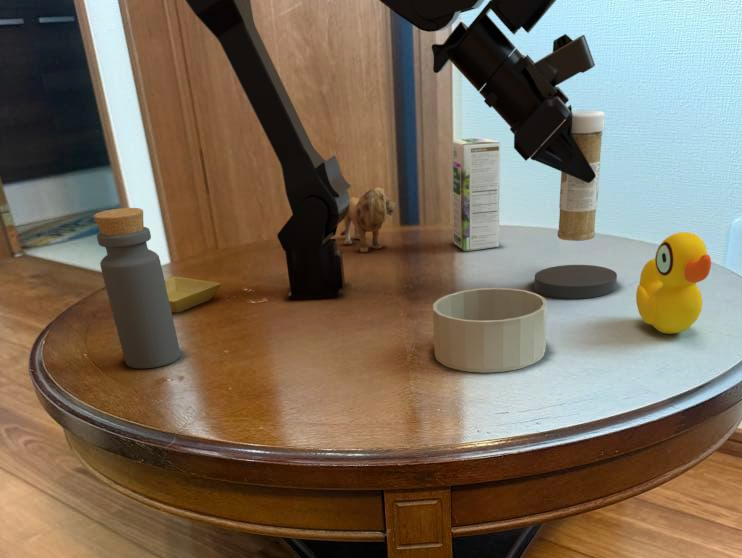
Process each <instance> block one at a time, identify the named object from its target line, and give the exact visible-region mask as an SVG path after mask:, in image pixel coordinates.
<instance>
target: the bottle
mask: <svg viewBox="0 0 742 558" xmlns="http://www.w3.org/2000/svg"><path fill="white" fill-rule="evenodd" d="M93 219H94V221H95V223H96V225H97V228H98V229H99V233H97V234H96V240H97V242H98V245H99V246H100V247H102V248H105V250H106V255H105V256H104V257H102V259H101V260H100V263H99V264H100V265H99V266H100V270H101V274H102V279H103V282H104V286H105V289H106V293H107V297H108V300H109V305H110V309H111V312H112V316H113V320H114V325H115V327H116V333H117V336H118V340H119V344H120V347H121V350H122V354H123V358H124V361H125V364H126V366H128V367H130V368H133V369H154V368H159V367H164V366H167V365H169V364H172V363H174V362H176V361H178V359H179V358H181V350H180V344H179V340H178V336H177V335H178V334H177V329H176V327H175V321H174V317H173V312H171V307H170V303H169V298H168V294H167V289H166V285H165V280H166V279H165V276H164V272H163V267H162V263H161V259H160V256H159V254H158V253H156V252H155V251H154V250H151V249H149V248H148V244H147V242H149V241H150V240H151V239H152V235H151V230H150V229H149V227H146V226H144V209H142V208H138V207H122V208H113V209H108V210H103V211H99V212H96V213H95V214H93Z"/></svg>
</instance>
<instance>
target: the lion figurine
mask: <svg viewBox="0 0 742 558" xmlns="http://www.w3.org/2000/svg"><path fill="white" fill-rule="evenodd" d="M349 198H350V205H349V210H348V213H347V215H346V216H345V218H344V219H343V221H344V222H343V223H344V228H345V229H344V230H343V231H341V233H340V234H339V235H340V236H343V237H344V236H345V237H344V242H343V243H344V245H346V246H347V245H351V244H352V240H351V225H353V226H354V238H355V239H356V240H359V245H360V246H359V247H360V249H359V251H360V252H361V253H367V252H369V248H368V244H367V240H366V233H367V232H368V233H371V235H372V238H371V246H372V248H373V249H375V250H379V249H381V248H382V247H383V245H382V244H381V243H379V233H380V230H381V229H382V225H384V223H385V222H386V221H387V218H388V215H389V216H391V217H392V216H393V215H394V211H395V209H396V205H397V202H396V201H394V200H393V199H390V197H389V196H387V195H386V194H385V189H384V188H382V187H373V188H372V189H369V190H368V191H366V192H365V193H364V194H363V195H362V196H360V197H359V198H358V197H353V196H352V197H349Z"/></svg>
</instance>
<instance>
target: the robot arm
mask: <svg viewBox="0 0 742 558" xmlns="http://www.w3.org/2000/svg"><path fill="white" fill-rule="evenodd" d="M378 1H379V2H381V3H382V4H383V5H385V6H386V7H387V8H388V9H390V10H391V11H392V12H394V13H395V14H397V15H398V16H399V17H401V18H402V19H403V20H405V21H407V23H410V24H411V25H413V26H414V27H415V28H417V29H419V30H421V31H422V32H428V33H430V32H432V33H433V32H440V31H445V30H446V29H448V28H449V27H451V26H453V24H454V23H456V21H457V20H458V18H459V16H460V15H461V14H463V13H466V12H469V11H472V10H476V9H479V7H481V6H482V4H483V3H484V2H486V1H485V0H378ZM556 1H557V0H489V1H488V2H487V3H486V5H485V6H484V7H483V8H482V10H481V11H480V12H479V14H478V15H477V16H476V17H475V18H474V20H472V22H471V23H470V25H467V24H465V22H463V21H460V22H458V24H457V26H456V27H455V28H454V30H452V32H451V33H450V34H449V35H448V36H447V38H446V39H445V40H444V42H443V43H433V44H432V45H431V51H432V55H433V65H432V71H433V73H435V74H439V73H441V72H442V71H444V69H445V68H446V67H447V65H448V64H449V63H450V62H451V63H452V64H453V66H454V67H455V68H456V69H457V70H458V71H459V72H460V73H461V74H462V76H464V78H465V79H466V80H467V81H468V82H469V83H470V85H472V86H473V88H474V89H475V90H476V91H477V92H478V93H479V95H481V97H483V99H484V100H483V102H484V103H485V104H486V105H487V106H488V108H489V109H492V108H493V110H495V112H496V113H497V114H498V115H499V116H500V117H501V118H502V119H503V121H504V122H505V123H506V124H507V125H508V126H509V127H510V128H509V130H510V132H511V133H512V134H513V149H514V150H515V151H516V153H518V154H519V156H521V157H522V159H523V160H524V161H525V162H527V161H528V160H529V159H530V160H532V161H535V162H537V163H540V164H542V165H545V166H548V167H550V168H551V169H555V170H557V171H559V172H561V171H562V172H564V173H566V174H569V175H571V176H573V177H575V178H578V179H580V180H582V181H585V182H587V183H590V182H591V181H592V180H593V179H594V178H595V177H596V175H595V173H594V171H593V169H592V168H591V166H590V164H589V162H588V161H587V159H586V157H585V156H584V154H583V152H582V151H581V149H580V147H579V146H578V144H577V142H576V141H575V139H574V137H573V135H572V120H573V114H572V112H573V111H572V104H570V105H568V106H567V105H566V104H567V103H568V102H569V101H570V100H569V97H568V96H567V95H566V94H565V93H564V91H563V90H562V89H561V88H560V87H559V86H558V85H560V84H562V83H563V82H566V81H567V80H569V79H572V77H574V76H576V75H578V74H580V73H581V74H582V73H583V74H584V73H585V72H587V71H589V70H591V69H593V68H594V67H595V66H596V64H595V61H594V58H593V55H592V52H591V50H590V47H589V43H588V41H587V37H586V36H585V34H582V35H580V36H578V37H577V38H574V39H572V38H571V37H570V36H569V35H568V34H566V33H564V34H562V35H561V36H559V37H557V38H556V39H554V40H553V44H552V45H553V46H552V52H551V53H549V54H547V55H545V56H544V57H542V58H540V59H538V60H537V61H534V60H533V59H532V58H531V57H530V56H529V55H528V54H526V55H525V54H522V53H521V51H520V50H519V49H518V48H516V47H517V46H515V45H514V43H512V42H511V40H510V39H509V38H508V37H507V35H506V34H504V32H503V31H502V30H501V29H500V28H499V27H498V25H497V24H496V23H495V22H494V21H493V19H492V18H491V17H490V16H489V13H490V12H491V11H492V12H493V14H495V16H496V17H497V18H498V20H500V22H501V23H502V24H503V25H504V27H506V28H507V30H508V31H509V32H510V33H511V34H513V36H514V35H515V36H516V34H517V33H518V31H519V30H521V28H522V29H523V30H524V32H526V33H527V34H529V33H530V32H531V31H532V30H533V29H534V27H536V25H537V24H538V23H539V21H541V19H542V18H543V17H544V16H545V14H547V12H548V11H549V10H550V8H551V7H552V6H553V5H554V3H556ZM185 2H186V3H187V5H188V6H189V7H190V9H191V10H192V12H193V13H194V15H195V16H196V17H197V19H198V20H200V22H201V23H202V24H203V25H204V26H205V27H206V28H207V29H208V31H210V33H211V34H212V35H213V36H214V37H215V39H216V40H217V41H218V42H219V44H220V46H221V48H222V50H223V52H224V54H225V57H226V58H227V60H228V62H229V64H230V66H231V68H232V70H233V72H234V74H235V76H236V78H237V80H238V82H239V84H240V86H241V88H242V90H243V92H244V94H245V96H246V98H247V100H248V102H249V104H250V106H251V108H252V110H253V112H254V114H255V115H256V118H257V120H258V122H259V124H260V126H261V128H262V129H263V132H264V133H265V136H266V138H267V140H268V142H269V144H270V146H271V148H272V149H273V152H274V154H275V156H276V158H277V160H278V161H279V164H280V167H281V172H282V178H283V179H282V180H283V186H284V192H285V195H286V198H287V201H288V205H289V207H290V210H291V213H292V215H291V216H290V217H289V219H288V220H287V221H286V223H284V225H283V226H282V228H281V229H280V230H279V231H278V233H277V239H278V241H279V243H280V246H281V247H282V250H283V251H284V253H285V260H286V267H287V274H288V275H287V276H288V282H289V289H290V290H289V293H288V294H287V296H288V299H289V300H296V299H297V300H299V299H300V300H301V299H318V298H320V299H321V298H337V297H339V296H340V293H341V291H342V289H343V288H344V286H345V283H346V280H345V271H344V270H345V269H344V261H343V259H344V258H343V252H342V251H341V250H338V244H337V239H336V238H332V237H334V236H335V235H336V234H337V230H338V226H339V224H340V223H341V222H342V221H344V218H345V216H346V215H347V213H348V210H349V205H350V198H351V197H350V195H349V192H348V190H349V189H351V187H352V186H351V184H350V183H349V182H347V180H346V179H345V177H344V175H343V173H342V170H341V167H340V164H339V161H338V159H337V156H336V155H332V156H331V157H329V158H328V159H324V157H323V156H322V155H321V154H320V153H319V152H318V151H317V150H316V149H315V147H314V145H313V144H312V142H311V140H310V138H309V136H308V134H307V131H306V128H305V127H304V125H303V122H302V121H301V118H300V117H299V114H298V112H297V110H296V108H295V106H294V104H293V102H292V100H291V97H290V96H289V94H288V91H287V89H286V88H285V85H284V83H283V81H282V79H281V77H280V75H279V72H278V70H277V68H276V66H275V64H274V62H273V59H272V58H271V55H270V54H269V52H268V50H267V47H266V46H265V44H264V41H263V38H262V37H261V35H260V33H259V31H258V28H257V26H256V24H255V20H254V13H253V9H252V2H251V0H185Z"/></svg>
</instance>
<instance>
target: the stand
mask: <svg viewBox="0 0 742 558" xmlns="http://www.w3.org/2000/svg"><path fill="white" fill-rule="evenodd" d="M533 279H534V283H533V284H534V285H533V288H534V291H535V292H536V293H537V294H539V295H541V296H542V295H543V296H546V297H549V298H555V299H564V300H565V299H567V300H568V299H569V300H574V299H575V300H579V299H580V300H581V299H593V298H598V297H603V296H606V295H609V294H611V293H613V292H614V291H615V290H616V288H617V281H618V274H617V272H616V271H615V270H613V269H611V268H608V267H605V266H600V265H593V264H563V265H556V266H551V267H547V268H543V269H541V270H539V271H537V272H536V273H535V274H534V278H533Z"/></svg>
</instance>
